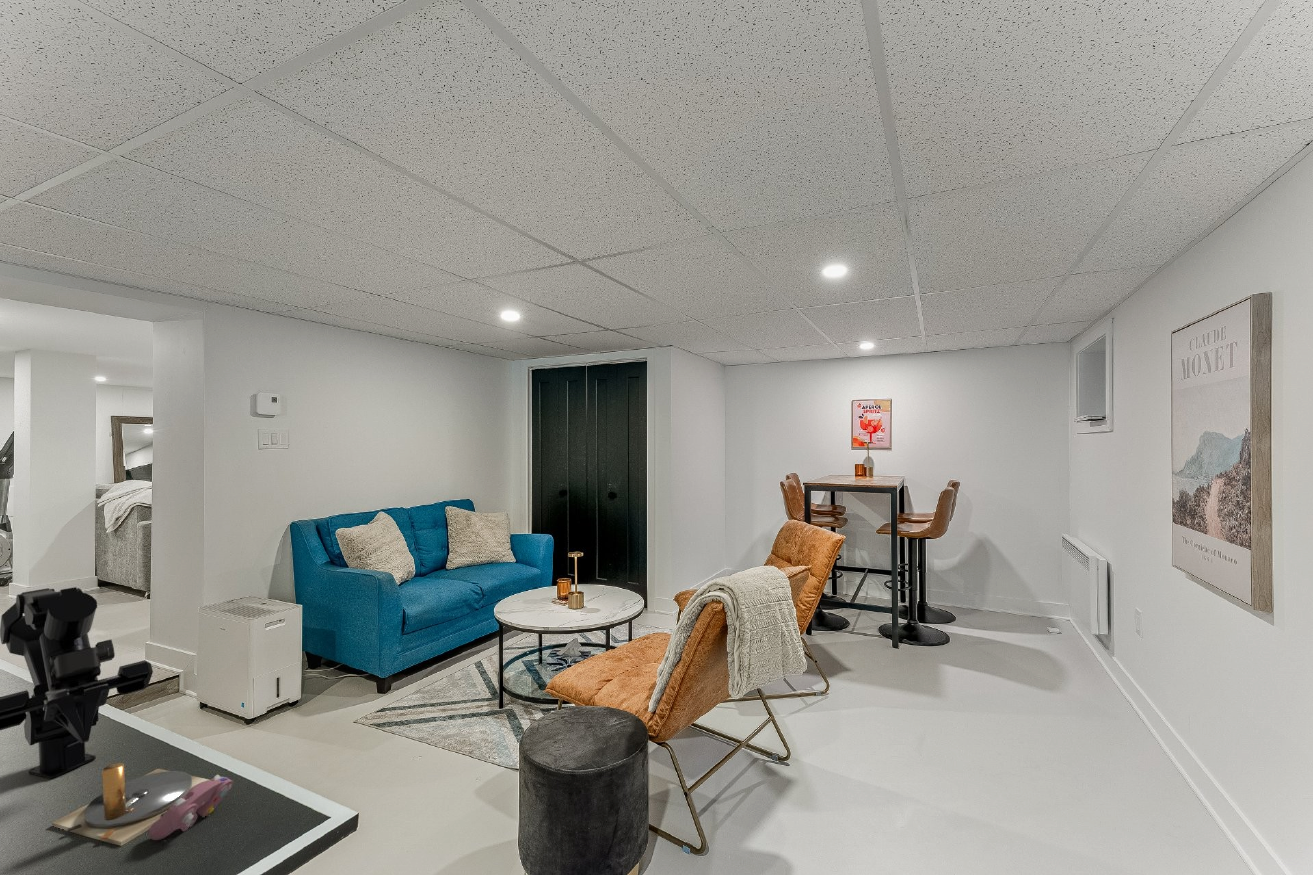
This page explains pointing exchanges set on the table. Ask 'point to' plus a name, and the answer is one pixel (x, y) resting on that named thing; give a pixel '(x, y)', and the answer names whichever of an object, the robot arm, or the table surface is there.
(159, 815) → the panel
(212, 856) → the table surface
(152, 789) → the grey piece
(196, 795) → the video game controller
